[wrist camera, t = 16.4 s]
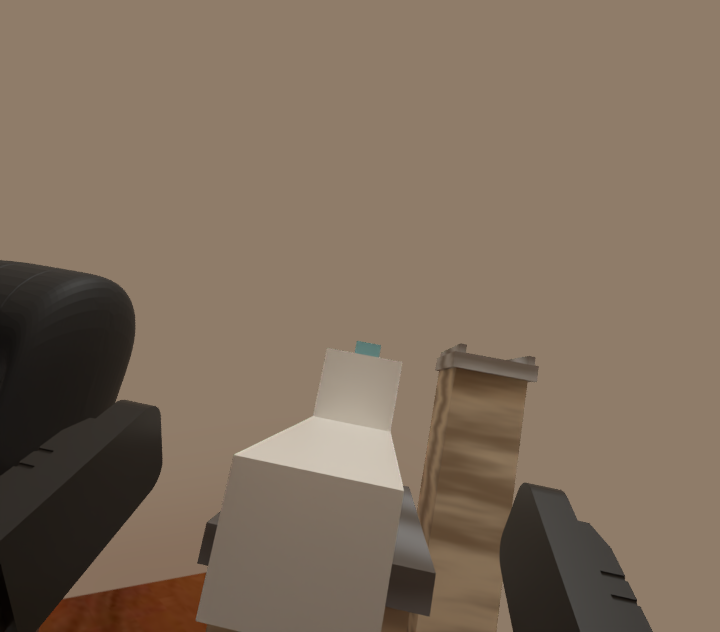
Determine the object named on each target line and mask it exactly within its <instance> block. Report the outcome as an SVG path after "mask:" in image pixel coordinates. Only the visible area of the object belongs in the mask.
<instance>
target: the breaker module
mask: <svg viewBox="0 0 720 632" xmlns="http://www.w3.org/2000/svg"><path fill="white" fill-rule="evenodd" d="M380 349H381V345H376V344H371V343H366V342H360V341H357V344H356V349H355V353H352V352H346V351H341V350H336V349H331V348H327V350H326V355H325V360H324V365H323V370H322V375H321V380H320V385H319V390H318V394H317V400H316V404H315V409H314V414H313V416H312V417H310V418H308V419H306V420H304V421H302V422H300V423H298V424H296V425H294V426H292V427H290V428H288V429H286V430H284V431H282V432H280V433H278V434H275V435H273V436H271V437H269V438H267V439H265V440H263V441H261V442H259V443H257V444H255V445H253V446H251V447H249V448H247V449H244V450H242V451H240V452H239V453H236V454H234V456H233V459H232V464H231V468H230V473H229V477H228V481H227V486H226V490H225V495H224V499H223V503H222V508H221V512H220V516H219V521H218V525H217V529H216V534H215V538H214V542H213V547H212V551H211V555H210V560H209V564H208V569H207V573H206V577H205V582H204V586H203V590H202V595H201V599H200V604H199V608H198V612H197V617H196V621H198V622H202V623H206V624H210V625H214V626H218V627H223V628H227V629H231V630H235V631H239V632H381V628H382V622H383V616H384V610H385V604H386V598H387V591H388V585H389V579H390V573H391V567H392V561H393V555H394V549H395V543H396V537H397V531H398V525H399V519H400V513H401V506H402V500H403V494H404V488H403V485H402V480H401V476H400V471H399V467H398V463H397V458H396V454H395V449H394V446H393V441H392V436H391V432H390V431H391V425H392V420H393V414H394V408H395V402H396V397H397V391H398V384H399V379H400V374H401V368H402V362H399V361H395V360H389V359H384V358H379V355H380Z"/></svg>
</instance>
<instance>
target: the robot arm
mask: <svg viewBox="0 0 720 632" xmlns="http://www.w3.org/2000/svg"><path fill="white" fill-rule="evenodd" d="M134 337H135V314H134V309H133V305H132V302H131V300H130V298H129V297H128V295H127V294H126V292H125V291H124V290H123V288H121V287H120V286H119V285H118V284H116V283H114V282H113V281H111V280H109V279H106V278H104V277H100V276H97V275H93V274H88V273H83V272H77V271H71V270H65V269H59V268H53V267H48V266H42V265H36V264H29V263H22V262H13V261H2V260H0V632H38V631H39V627H40V626H41V624H42V623H43V622H44V621H45V620H46V618H47V617H48V616H49V615H50V613H51V612H52V611H53V610H54V609H55V607H56V606H57V605H58V604H59V603H60V601H61V600H62V599H63V598H64V596H65V595H66V594H67V593H68V592H69V590H70V589H71V588H72V586H73V585H74V584H75V583H76V582H77V581H78V579H79V578H80V577H81V576H82V574H83V573H84V572H85V571H86V570H87V568H88V567H89V566H90V565H91V563H92V562H93V561H94V560H95V559H96V557H97V556H98V555H99V554H100V552H101V551H102V550H103V549H104V548H105V546H106V545H107V544H108V543H109V541H110V540H111V539H112V538H113V537H114V535H115V534H116V533H117V532H118V531H119V529H120V528H121V527H122V526H123V524H124V523H125V522H126V521H127V520H128V518H129V517H130V516H131V515H132V513H133V512H134V511H135V510H136V509H137V507H138V506H139V505H140V504H141V502H142V501H143V500H144V499H145V498H146V496H147V495H148V494H149V493H150V491H151V490H152V489H153V487H154V486H155V484H156V482H157V480H158V477H159V475H160V472H161V468H162V439H161V415H160V411H159V409H158V408H157V407H156V406H151V405H147V404H142V403H137V402H132V401H128V400H120V401H118V402H116V403H115V401H116V399H117V396H118V393H119V390H120V387H121V384H122V381H123V378H124V376H125V372H126V369H127V366H128V363H129V360H130V356H131V352H132V348H133V343H134ZM499 559H500V568H501V574H502V579H503V583H504V588H505V593H506V598H507V603H508V608H509V613H510V618H511V623H512V628H513V632H653V631H652V629H651V627H650V625H649V623H648V621H647V619H646V617H645V615H644V613H643V611H642V609H641V607H640V606H637V599H636V597H635V595H634V593H633V591H632V589H631V587H630V585H629V583H628V582H627V581H625V575H624V573H623V571H622V569H621V567H620V565H619V563H618V561H617V559H616V557H615V555H614V553H613V551H612V549H611V548H610V546H608V544H607V543H606V542H605V541H604V540H603V539H602V537H601V536H600V535H599V534H598V533H597V532H596V531H595V529H594V528H593V527H592V526H591V525H590V524H589V523H586V522H581V521H578V520H577V518H576V516H575V514H574V511H573V509H572V507H571V505H570V502H569V500H568V498H567V496H566V495H565V493H564V492H563V491H561V490H558V489H553V488H548V487H543V486H539V485H534V484H529V483H523V484H522V485H521V486H520V488H519V490H518V493H517V496H516V498H515V501H514V504H513V507H512V509H511V511H510V514H509V517H508V520H507V522H506V525H505V528H504V530H503V533H502V536H501V541H500V551H499Z"/></svg>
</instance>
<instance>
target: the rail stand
mask: <svg viewBox="0 0 720 632" xmlns="http://www.w3.org/2000/svg"><path fill="white" fill-rule="evenodd" d="M466 347H467V345H465V344H459V345H457V346H455V347H452V348H450V349H448V350H446V351H444V352H442V353H441V357H440V358H437V363H436V370H437V371H439V376H438V382H437V388H436V395H435V401H434V408H433V414H432V420H431V426H430V433H429V439H428V446H427V451H426V458H425V464H424V471H423V477H422V483H421V489H420V495H419V502H418V508H417V514H418V518H419V521H420V524H421V527H422V530H423V534H424V537H425V540H426V543H427V546H428V550H429V553H430V556H431V559H432V562H433V566H434V569H435V572H436V577H435V584H434V590H433V597H432V604H431V611H430V617H428V616H424V615H420V614H415V613H411V612H410V613H409V620H408V626H407V632H496V629H497V621H498V614H499V606H500V598H501V590H502V589H501V588H502V582H503V579H502V574H501V568H500V559H499V551H500V541H501V536H502V533H503V530H504V528H505V525H506V522H507V520H508V517H509V514H510V511H511V509H512V501H513V493H514V485H515V477H516V469H517V461H518V454H519V446H520V438H521V429H522V422H523V414H524V405H525V397H526V390H527V382H537V375H538V366H534V365H535V357H531V356H527V357H522V358H516V359H510V360H501V359H496V358H491V357H486V356H480V355H475V354H469V353H466Z"/></svg>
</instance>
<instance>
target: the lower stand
mask: <svg viewBox="0 0 720 632" xmlns="http://www.w3.org/2000/svg"><path fill="white" fill-rule="evenodd" d="M403 488H404V494H403V500H402V506H401V513H400V519H399V525H398V531H397V537H396V543H395V549H394V555H393V561H392V567H391V573H390V579H389V585H388V591H387V598H386V604H385V610H384V616H383V622H382V628H381V632H407V626H408V620H409V613H410V612H411V613H415V614H420V615H424V616H428V617H430V611H431V604H432V597H433V590H434V584H435V577H436V572H435V569H434V566H433V562H432V559H431V556H430V553H429V550H428V546H427V543H426V540H425V537H424V534H423V530H422V527H421V524H420V521H419V518H418V514H417V511H416V508H415V505H414V502H413V499H412V495H411V492H410V489H409V487H406V486H403ZM220 512H221V511H220ZM220 512H219V513H218V514H217V515H215V516H214V517H213V518H212V519H210V520H209V521H208V522H207V524H206V528H205V532H204V537H203V541H202V545H201V549H200V554H199V558H198V562H197V563H198V564H203V565H207V566H208V564H209V560H210V555H211V551H212V547H213V542H214V538H215V534H216V529H217V525H218V521H219V516H220ZM206 632H239V631H235V630H231V629H227V628H223V627H218V626H214V625H210V624H207V629H206Z"/></svg>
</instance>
